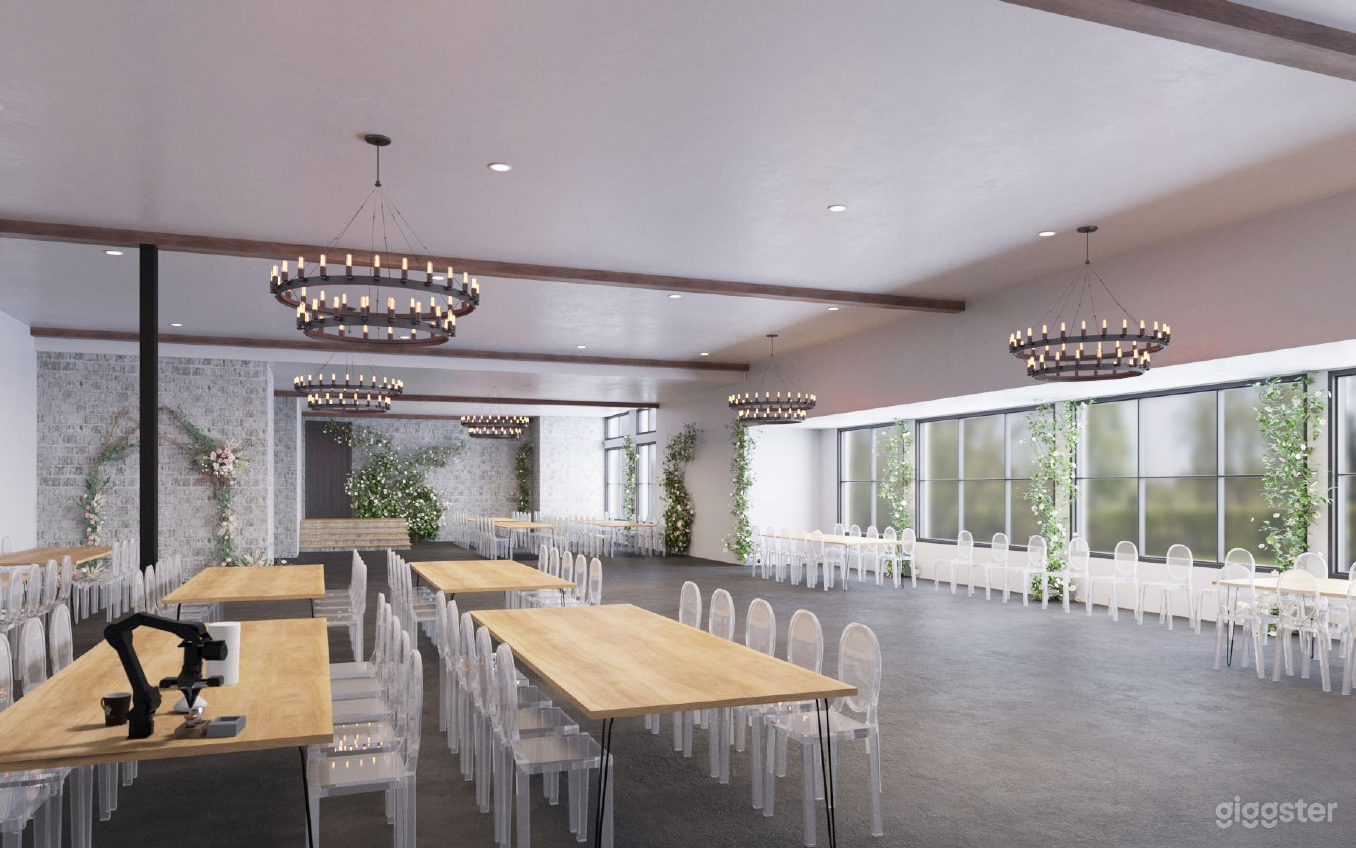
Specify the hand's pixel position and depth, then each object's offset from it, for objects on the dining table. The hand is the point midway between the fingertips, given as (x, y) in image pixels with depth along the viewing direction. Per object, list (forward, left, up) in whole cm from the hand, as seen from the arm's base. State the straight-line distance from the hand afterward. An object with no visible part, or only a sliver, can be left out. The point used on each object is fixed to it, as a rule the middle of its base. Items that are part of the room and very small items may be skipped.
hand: (190, 708), depth 308 cm
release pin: (0, 0, -6) cm, 6 cm away
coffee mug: (-31, +22, -9) cm, 39 cm away
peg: (0, +6, -9) cm, 11 cm away
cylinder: (-14, +87, -9) cm, 89 cm away
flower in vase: (-11, +38, -9) cm, 41 cm away
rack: (+11, +3, -9) cm, 14 cm away
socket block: (0, +3, -9) cm, 10 cm away
